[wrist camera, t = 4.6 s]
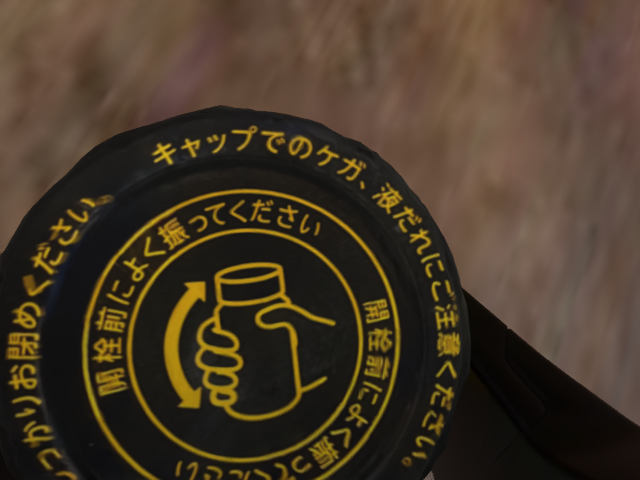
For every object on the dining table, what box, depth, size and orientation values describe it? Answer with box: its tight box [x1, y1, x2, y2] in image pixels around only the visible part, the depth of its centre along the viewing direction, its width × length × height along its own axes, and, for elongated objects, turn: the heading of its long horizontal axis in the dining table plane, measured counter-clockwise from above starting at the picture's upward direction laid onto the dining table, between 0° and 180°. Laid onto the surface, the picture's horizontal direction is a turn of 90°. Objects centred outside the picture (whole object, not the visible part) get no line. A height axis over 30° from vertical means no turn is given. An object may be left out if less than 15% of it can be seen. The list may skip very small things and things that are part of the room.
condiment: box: [0, 105, 471, 480], centre depth 10 cm, size 7×8×12 cm
